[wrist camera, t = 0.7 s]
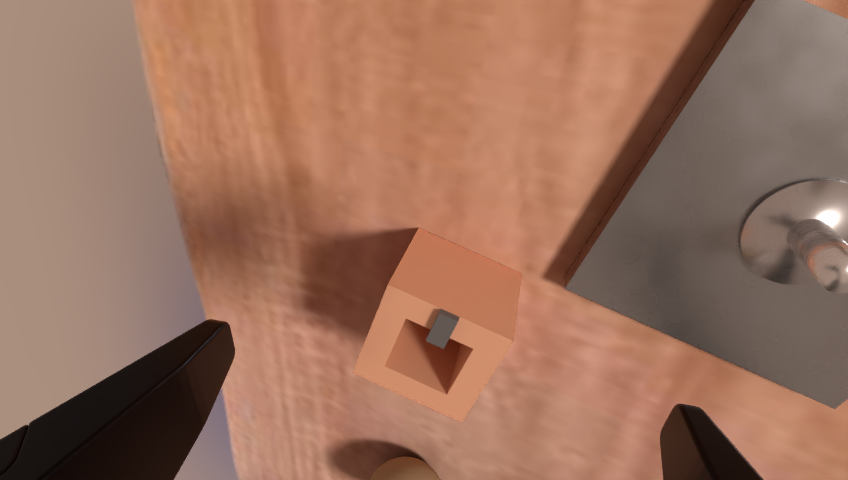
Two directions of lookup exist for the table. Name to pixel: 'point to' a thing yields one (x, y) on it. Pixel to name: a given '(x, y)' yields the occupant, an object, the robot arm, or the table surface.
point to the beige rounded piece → (404, 470)
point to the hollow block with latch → (441, 325)
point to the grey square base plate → (744, 207)
